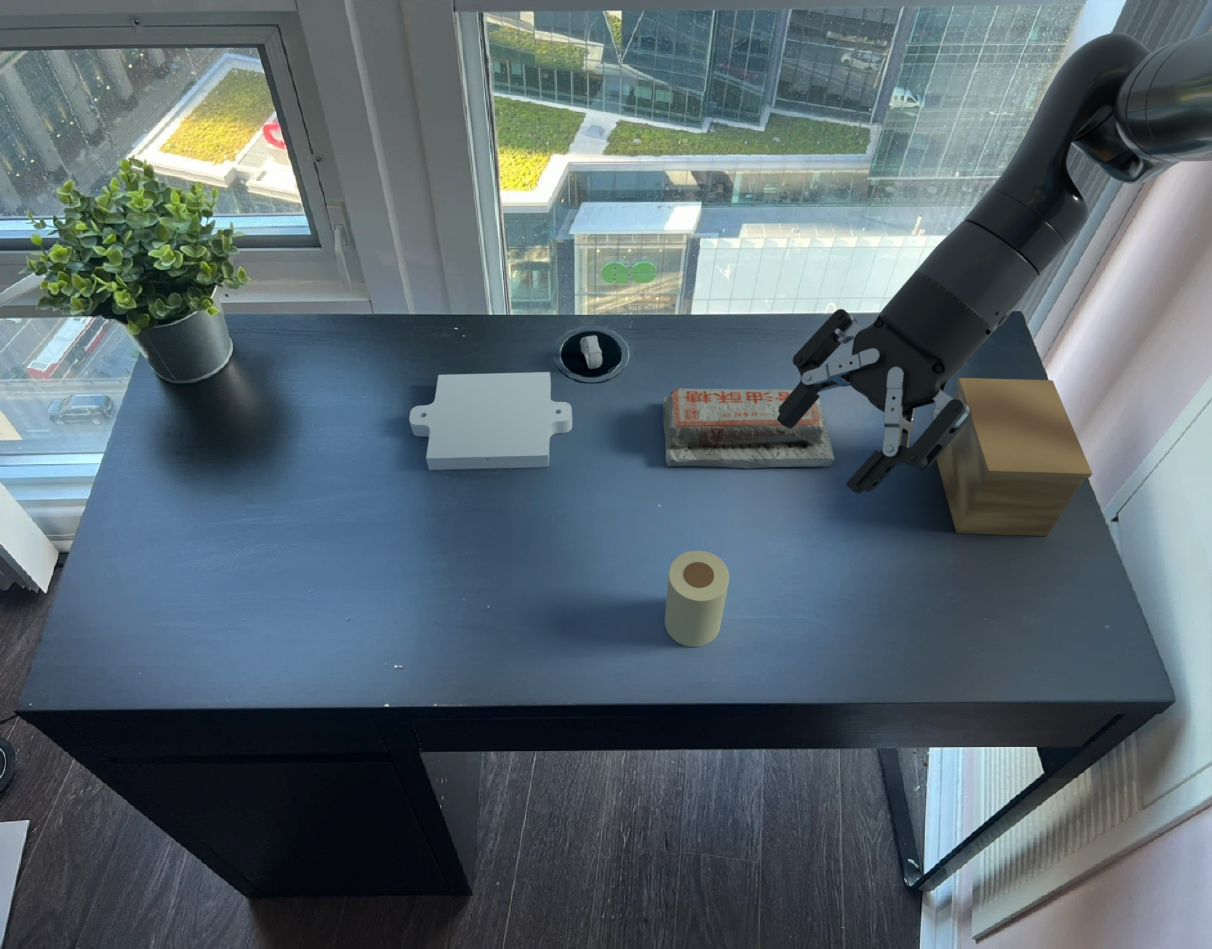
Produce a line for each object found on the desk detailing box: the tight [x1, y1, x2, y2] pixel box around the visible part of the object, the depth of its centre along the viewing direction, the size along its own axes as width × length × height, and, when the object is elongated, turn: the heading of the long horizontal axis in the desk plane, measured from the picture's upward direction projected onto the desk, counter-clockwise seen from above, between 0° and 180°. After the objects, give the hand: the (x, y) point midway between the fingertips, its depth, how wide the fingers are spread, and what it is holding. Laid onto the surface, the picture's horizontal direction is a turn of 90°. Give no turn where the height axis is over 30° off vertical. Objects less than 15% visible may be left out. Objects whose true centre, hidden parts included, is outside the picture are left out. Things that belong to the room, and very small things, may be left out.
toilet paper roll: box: [664, 549, 730, 648], centre depth 75 cm, size 5×5×8 cm
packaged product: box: [662, 387, 835, 469], centre depth 92 cm, size 18×5×10 cm
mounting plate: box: [408, 371, 573, 471], centre depth 94 cm, size 18×13×2 cm
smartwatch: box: [579, 335, 603, 370], centre depth 100 cm, size 4×2×4 cm, turn 14°
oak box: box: [935, 377, 1093, 537], centre depth 85 cm, size 12×9×10 cm
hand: (817, 456), depth 70 cm, fingers open, 8 cm apart
